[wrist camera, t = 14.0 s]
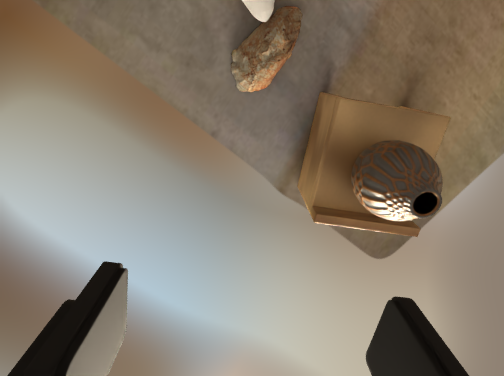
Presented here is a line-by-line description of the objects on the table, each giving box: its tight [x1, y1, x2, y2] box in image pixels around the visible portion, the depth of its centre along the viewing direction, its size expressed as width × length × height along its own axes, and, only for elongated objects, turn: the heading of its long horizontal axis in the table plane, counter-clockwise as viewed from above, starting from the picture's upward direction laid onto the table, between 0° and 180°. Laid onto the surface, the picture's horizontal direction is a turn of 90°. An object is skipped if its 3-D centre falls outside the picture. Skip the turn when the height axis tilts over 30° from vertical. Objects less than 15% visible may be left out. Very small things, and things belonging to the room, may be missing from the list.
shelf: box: [298, 92, 451, 237], centre depth 33 cm, size 12×11×10 cm
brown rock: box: [231, 6, 302, 92], centre depth 32 cm, size 10×4×5 cm
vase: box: [351, 140, 443, 221], centre depth 26 cm, size 7×7×9 cm
